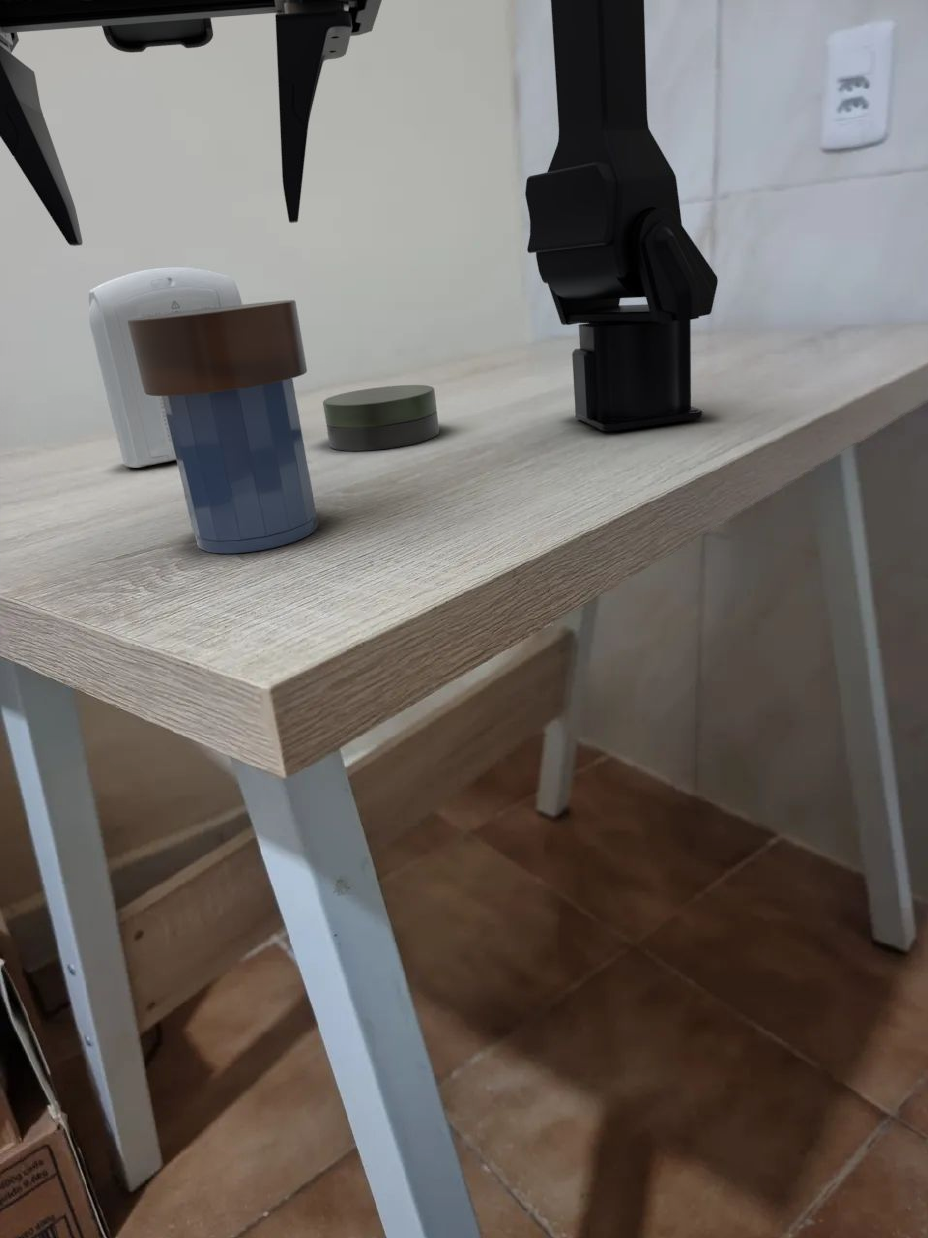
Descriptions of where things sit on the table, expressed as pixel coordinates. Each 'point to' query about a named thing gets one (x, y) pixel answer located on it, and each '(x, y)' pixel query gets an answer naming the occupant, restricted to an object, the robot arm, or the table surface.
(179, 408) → the blue cup
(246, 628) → the table surface
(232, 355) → the walnut chip
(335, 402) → the green and grey disc
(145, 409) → the photo printer
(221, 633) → the table surface
